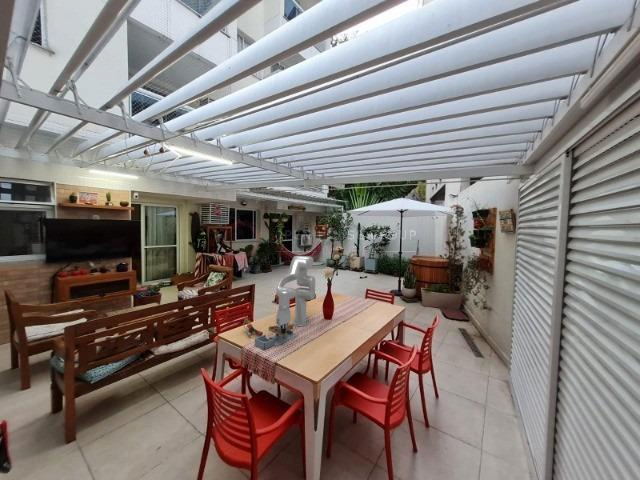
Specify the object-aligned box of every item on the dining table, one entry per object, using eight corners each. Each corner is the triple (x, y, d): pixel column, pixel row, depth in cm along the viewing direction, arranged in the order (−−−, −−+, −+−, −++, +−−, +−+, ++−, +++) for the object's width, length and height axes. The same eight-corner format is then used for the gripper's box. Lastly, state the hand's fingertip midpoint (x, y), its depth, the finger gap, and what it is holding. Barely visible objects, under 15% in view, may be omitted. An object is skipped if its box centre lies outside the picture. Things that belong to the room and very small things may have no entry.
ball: (288, 326, 198) (289, 321, 198) (291, 327, 196) (292, 323, 196) (284, 326, 195) (285, 322, 195) (288, 328, 193) (289, 323, 193)
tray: (264, 340, 185) (265, 334, 184) (274, 345, 178) (274, 338, 178) (254, 345, 178) (254, 338, 177) (264, 350, 171) (264, 343, 171)
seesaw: (287, 326, 199) (287, 323, 200) (301, 332, 190) (302, 328, 190) (267, 330, 184) (268, 326, 184) (282, 336, 174) (283, 332, 174)
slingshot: (259, 328, 206) (266, 329, 194) (252, 340, 201) (259, 341, 189) (243, 317, 201) (250, 317, 189) (235, 328, 196) (241, 329, 184)
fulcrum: (286, 331, 201) (286, 321, 201) (297, 336, 194) (297, 325, 193) (265, 340, 185) (265, 329, 184) (276, 346, 177) (276, 334, 177)
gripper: (287, 304, 184) (287, 328, 186) (272, 309, 173) (271, 335, 174) (295, 306, 180) (294, 331, 181) (279, 311, 168) (278, 338, 169)
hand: (283, 333), depth 177 cm, fingers closed
